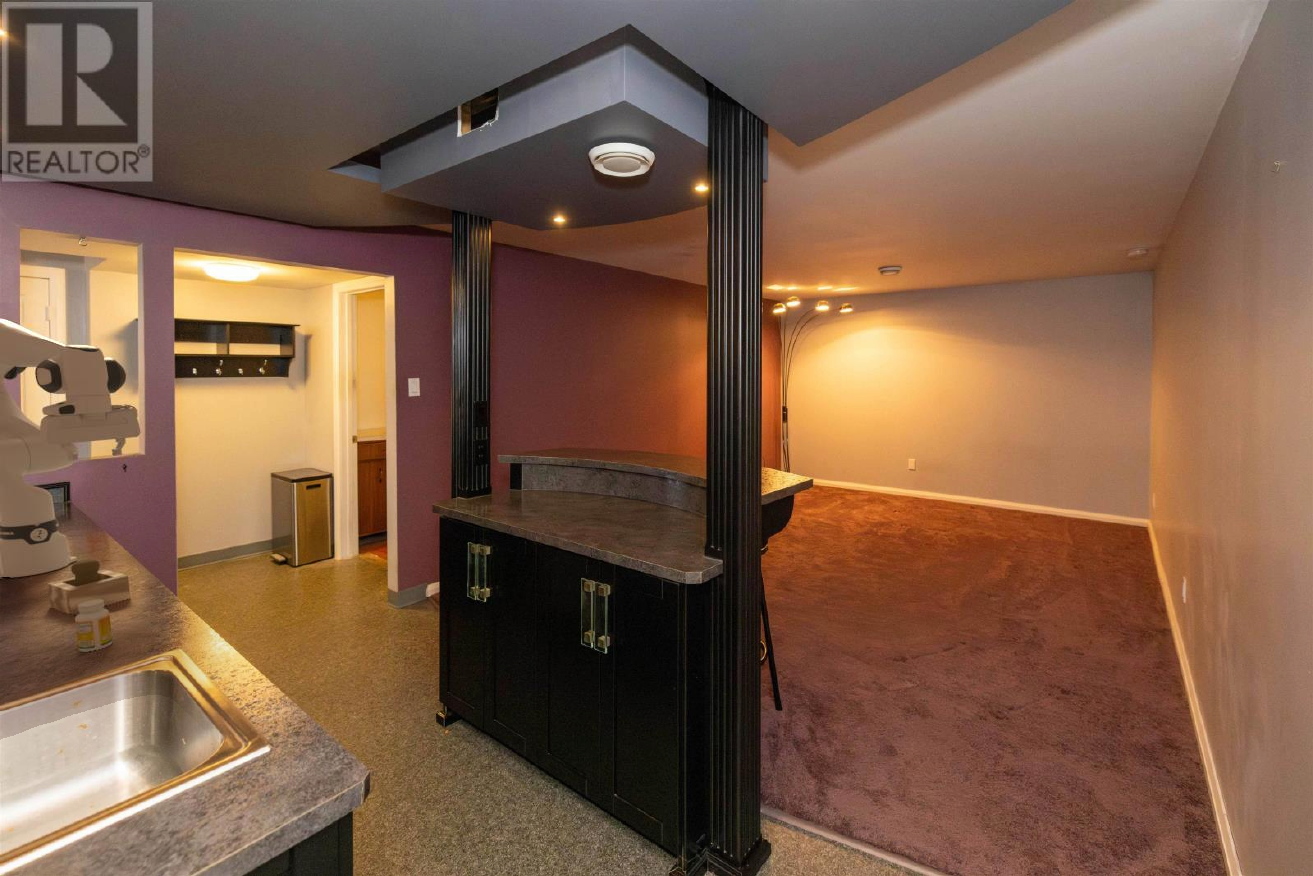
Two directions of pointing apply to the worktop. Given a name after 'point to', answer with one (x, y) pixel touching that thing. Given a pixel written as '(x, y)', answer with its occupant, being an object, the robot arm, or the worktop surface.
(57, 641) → the worktop surface
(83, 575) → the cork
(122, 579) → the shaker holder
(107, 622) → the supplement bottle
